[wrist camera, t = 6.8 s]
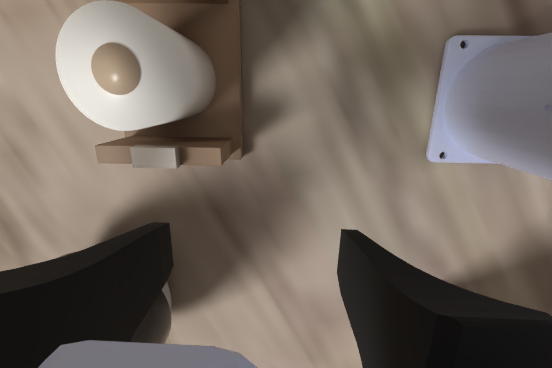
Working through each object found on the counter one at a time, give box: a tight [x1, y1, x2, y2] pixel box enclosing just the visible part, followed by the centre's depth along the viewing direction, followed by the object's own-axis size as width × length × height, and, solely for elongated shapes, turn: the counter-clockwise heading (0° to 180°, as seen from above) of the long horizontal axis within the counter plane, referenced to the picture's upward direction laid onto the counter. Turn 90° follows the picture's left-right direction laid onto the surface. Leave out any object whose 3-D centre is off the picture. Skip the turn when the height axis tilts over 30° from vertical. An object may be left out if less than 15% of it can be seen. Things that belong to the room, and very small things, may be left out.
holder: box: [95, 0, 243, 168], centre depth 17 cm, size 8×11×6 cm
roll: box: [56, 0, 216, 131], centre depth 15 cm, size 5×5×7 cm
